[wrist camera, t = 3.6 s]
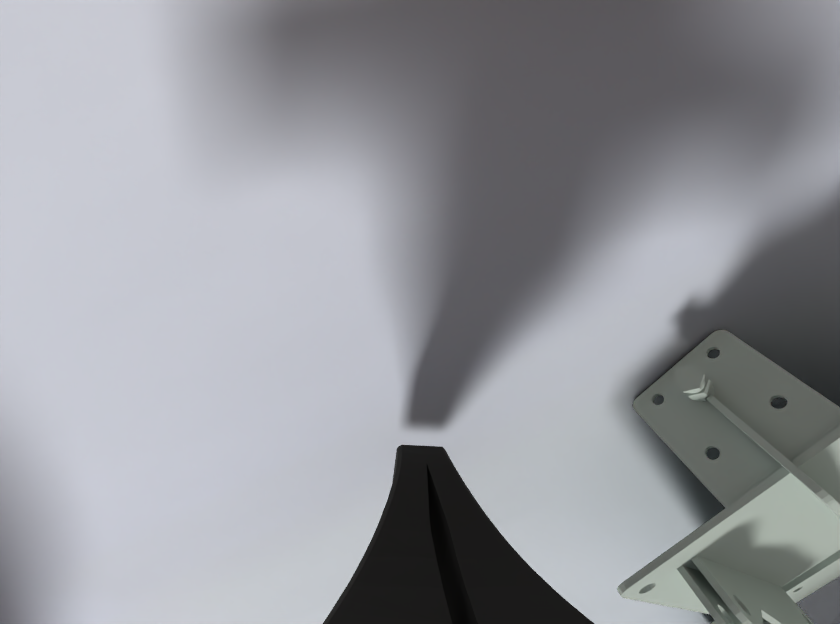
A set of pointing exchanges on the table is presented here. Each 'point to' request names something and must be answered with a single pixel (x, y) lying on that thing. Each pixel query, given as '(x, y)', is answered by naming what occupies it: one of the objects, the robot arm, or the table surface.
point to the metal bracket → (746, 487)
